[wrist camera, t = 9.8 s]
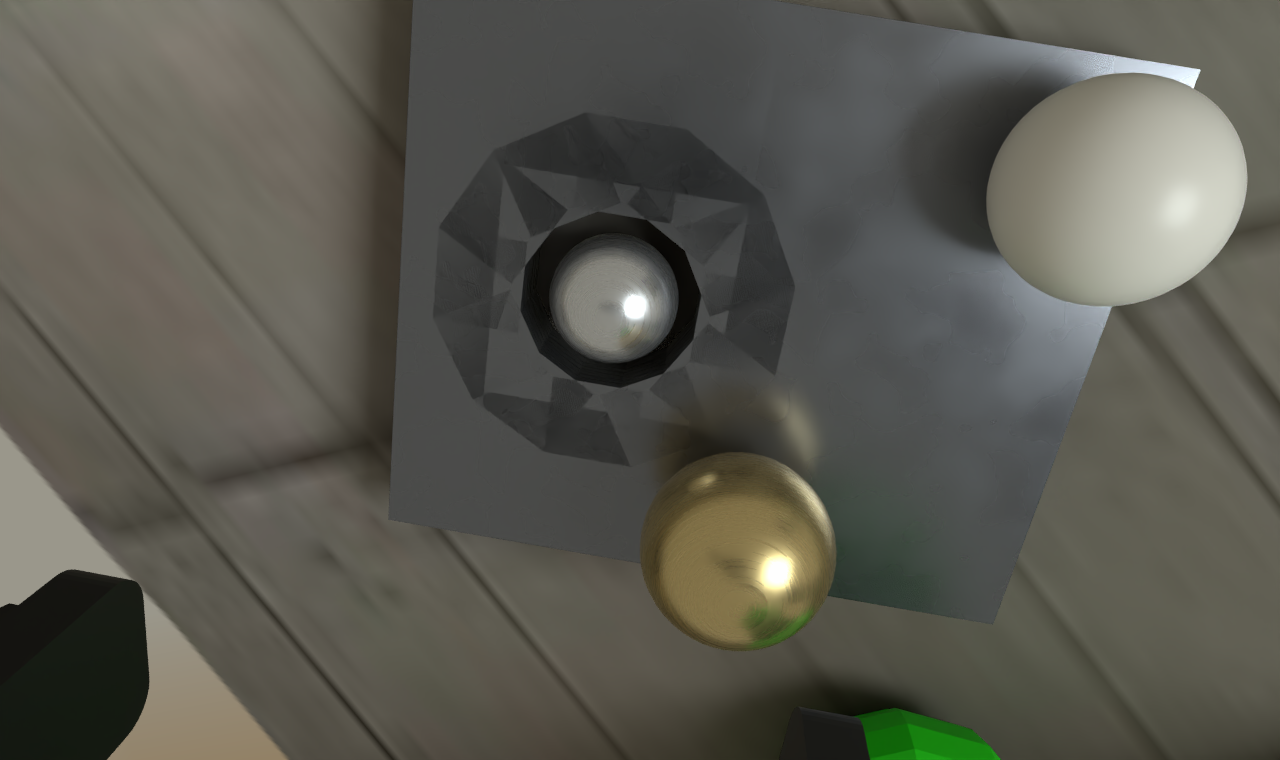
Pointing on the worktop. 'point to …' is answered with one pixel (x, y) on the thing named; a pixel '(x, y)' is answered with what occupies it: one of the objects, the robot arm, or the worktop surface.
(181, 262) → the worktop surface
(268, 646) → the worktop surface
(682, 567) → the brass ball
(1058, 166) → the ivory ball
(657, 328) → the steel ball
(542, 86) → the plate
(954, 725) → the plastic bottle
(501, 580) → the worktop surface
